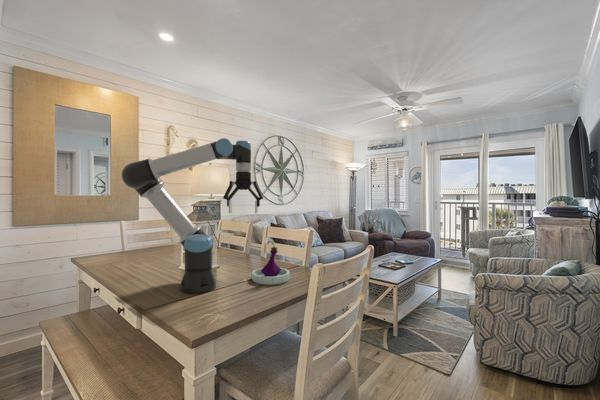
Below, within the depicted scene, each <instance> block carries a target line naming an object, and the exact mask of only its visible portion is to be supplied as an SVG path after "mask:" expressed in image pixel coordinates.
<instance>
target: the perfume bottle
mask: <svg viewBox="0 0 600 400" xmlns="http://www.w3.org/2000/svg"><path fill="white" fill-rule="evenodd" d="M270 243H271V244H272V245H273V247H271V248H270V249H271V250H270V251H269V253H270V257H269V259H268V261H267V263H266V264H265V266H264V267H262V268H263V269H262V270H261V272H262V273H263V274H264V276H266V277H274V276H277V275H278V274H279V272H280V271H281V269H280V268H281V267H279V265H277V263H276V262H275V256H276V254H277V253H278V252H279V251H278V247H276V246H275V242H274V240H269V241H267V244H266V245H269V244H270Z"/></svg>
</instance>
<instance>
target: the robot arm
mask: <svg viewBox="0 0 600 400" xmlns="http://www.w3.org/2000/svg"><path fill="white" fill-rule="evenodd" d="M251 147H252V146H251V141H248V140H237V141H236V142H235V144H233V143H232V141H231V140H230V139H228V138H226V137H225V138H224V137H223V138H220V139H218V140H217V141H214V142H210V143H207V144H203V145H200V146H197V147H194V148H193V147H192V148H189V149H186V150H183V151H179V152H176V153H173V154H169V155H166V156H162V157H158V158H155V159H151V158H146V159H143V160H139V161H134V162H129V163H128V164H127V165H125V166H124V167H123V169H122V171H121V180H122V181H123V183H124V184H125V186H127V187H129V188H131V189H134V190H135V191H136V192H137V194H138V195H139V196H140V197H141V198H143V199H144V198H145V199H147V200H148V201H149V202H150V204H151V205H152V206H153V207H154V209H156V211H158V213H159V214H160V215H161V217H162V218H163V219H164V220H165V221H166V223H167V224H168V225H169V226H170V227H171V228H172V229H173V231H174V232H175V233H176V234H177V236H179V238H180V239H179V243H180V244H181V246H182V247H183V248H184V274H183V276H182V279H181V282H180V287H179V288H180V291H181V292H182V291H183V292H182V293H184V292H185V293H184V294H201V293H203V294H204V293H207V292H211V291H212V290H215V289H216V287H217V280H216V278H215V275H214V272H213V240H212V236H210V235H208V234H206V232H205V231H204V230H203V229H202V228H201V227H200V226H195V224H194V223H193V222H192V221H191V219H190V218H189V217H188V216H187V214H186V213H185V212H184V211H183V210H182V209H181V207H180V206H179V205H178V204H177V202H176V201H175V200H174V199H173V198H172V196H171V195H170V194H169V193H168V191H167V190H166V189H165V188H164V182H163V180H162V179H161V178H160V177H164V176H167V175H169V174H173V173H176V172H178V171H182V170H186V169H189V168H193V167H195V166H198V165H201V164H205V163H207V162H208V163H209V162H211V161H214V160H233V161H235V171H236V172H235V181H234V180H230V181H229V185H228V186H227V189H226V191H225V193H224V195H223V200H226V206H227V207H228V213H229V214H232V213H233V200H232V198H233V197H234V196H235V195H236V193H237V192H238V191H243V190H244V191H246V190H248V191H249V192H250V194H251V195H252V196H253V197H254V198H255V201H254V214H258V210H259V207H260V206H261V205H260V201H261V200H263V199H264V196H263V194H262V191H261V190H260V188H259V186H258V182H257V180H254V181H252V172H251V171H252V165H251V164H252V148H251ZM234 186H236V187H235V188H234V189H233V191H232V188H233V187H234ZM251 186H253V187H254V188H255V190H256V192H257V193H256V192H255V191H254V190H253V188H252V187H251Z"/></svg>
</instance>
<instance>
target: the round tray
mask: <svg viewBox="0 0 600 400" xmlns="http://www.w3.org/2000/svg"><path fill="white" fill-rule="evenodd" d="M263 268H264V267H261V268H257V269H254V270H253V271H252V272H251V280H252V282H253V283H255V284H258V285H259V284H260V285H267V286H268V285H269V286H273V285H274V286H275V285H280V284H284V283H287V282H288V281H289V280H290V275H291V274H290V273H291V272H290V270H289V269H287V268H282V267H279V268H280V269H281V271H280V272H279V274H278V275H277V276H274V277H266V276H264V274H263V273H262V272H261V270H262V269H263Z"/></svg>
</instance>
